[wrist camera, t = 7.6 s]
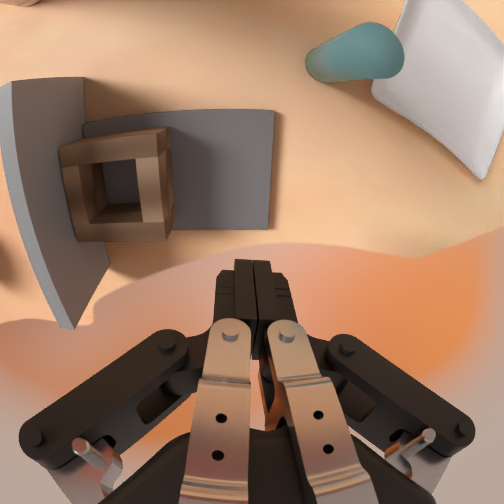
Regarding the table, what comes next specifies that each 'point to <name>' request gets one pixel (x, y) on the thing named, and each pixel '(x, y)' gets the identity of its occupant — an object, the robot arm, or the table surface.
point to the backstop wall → (48, 189)
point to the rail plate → (203, 165)
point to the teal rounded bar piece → (357, 55)
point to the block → (94, 194)
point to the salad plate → (449, 79)
